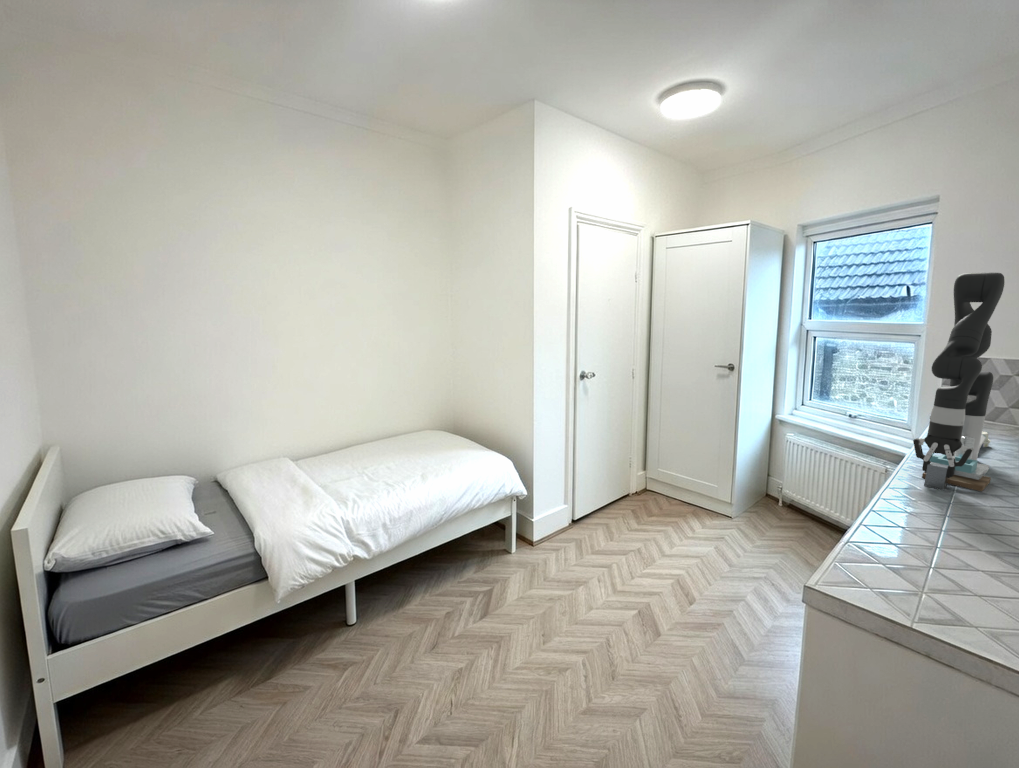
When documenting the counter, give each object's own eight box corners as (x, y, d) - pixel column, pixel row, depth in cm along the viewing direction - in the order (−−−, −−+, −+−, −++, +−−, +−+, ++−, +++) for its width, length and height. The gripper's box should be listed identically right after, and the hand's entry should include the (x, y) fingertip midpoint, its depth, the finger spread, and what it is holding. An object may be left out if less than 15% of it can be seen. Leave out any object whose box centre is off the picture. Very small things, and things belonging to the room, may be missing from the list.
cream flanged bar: (960, 444, 178) (975, 426, 192) (958, 460, 180) (973, 441, 194) (979, 447, 174) (993, 429, 188) (977, 463, 176) (990, 444, 190)
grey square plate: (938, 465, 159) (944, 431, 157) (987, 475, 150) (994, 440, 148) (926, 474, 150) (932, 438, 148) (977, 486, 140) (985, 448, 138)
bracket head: (932, 459, 155) (933, 452, 154) (976, 468, 146) (977, 460, 146) (925, 463, 150) (926, 456, 149) (970, 473, 141) (972, 465, 141)
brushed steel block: (927, 483, 146) (931, 461, 145) (946, 487, 143) (950, 466, 142) (923, 485, 144) (927, 464, 143) (943, 490, 140) (947, 468, 139)
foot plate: (932, 469, 159) (933, 465, 159) (990, 481, 148) (991, 477, 148) (921, 477, 151) (922, 473, 151) (981, 491, 140) (982, 486, 140)
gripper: (982, 424, 137) (971, 479, 139) (919, 415, 148) (910, 466, 151) (977, 428, 132) (966, 484, 135) (912, 418, 143) (904, 470, 146)
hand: (937, 474), depth 143 cm, fingers closed on brushed steel block, 4 cm apart
